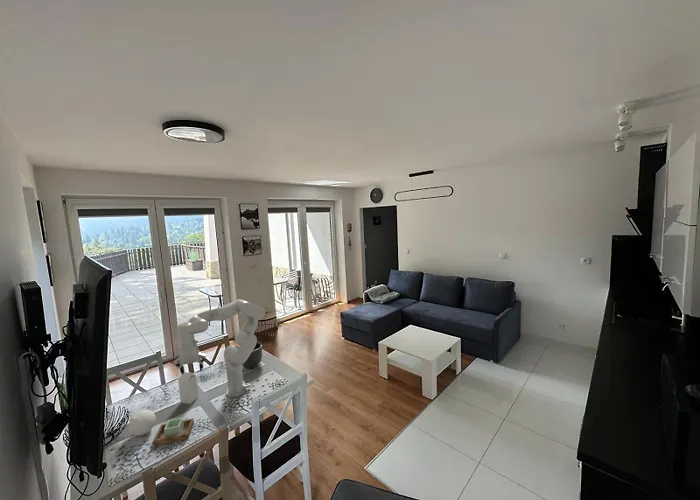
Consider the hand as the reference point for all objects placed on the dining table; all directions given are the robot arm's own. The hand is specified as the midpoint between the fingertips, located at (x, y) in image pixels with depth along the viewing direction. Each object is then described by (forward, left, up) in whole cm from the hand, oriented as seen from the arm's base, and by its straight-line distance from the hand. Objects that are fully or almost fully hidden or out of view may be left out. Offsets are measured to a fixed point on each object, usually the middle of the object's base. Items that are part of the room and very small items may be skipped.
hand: (192, 371), depth 168 cm
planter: (-29, -44, -27) cm, 59 cm away
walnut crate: (+7, +16, -26) cm, 32 cm away
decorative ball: (+24, +9, -27) cm, 37 cm away
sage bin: (+7, +16, -26) cm, 31 cm away
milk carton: (+7, -14, -27) cm, 31 cm away
